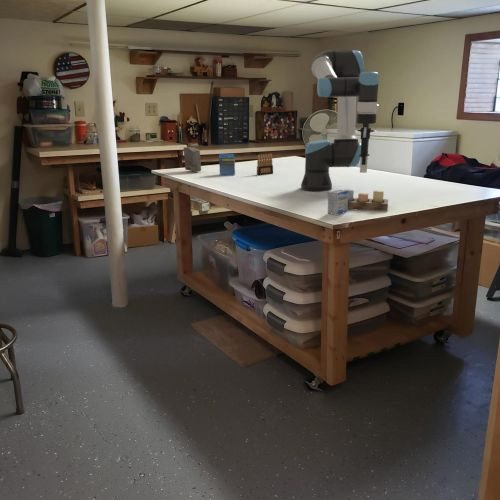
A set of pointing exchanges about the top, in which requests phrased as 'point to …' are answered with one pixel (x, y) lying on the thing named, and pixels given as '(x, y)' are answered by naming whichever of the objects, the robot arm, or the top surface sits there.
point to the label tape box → (227, 164)
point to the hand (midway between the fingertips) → (363, 172)
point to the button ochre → (378, 196)
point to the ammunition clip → (264, 165)
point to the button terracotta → (362, 197)
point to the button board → (368, 205)
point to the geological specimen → (192, 159)
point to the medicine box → (337, 201)
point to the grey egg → (350, 194)
